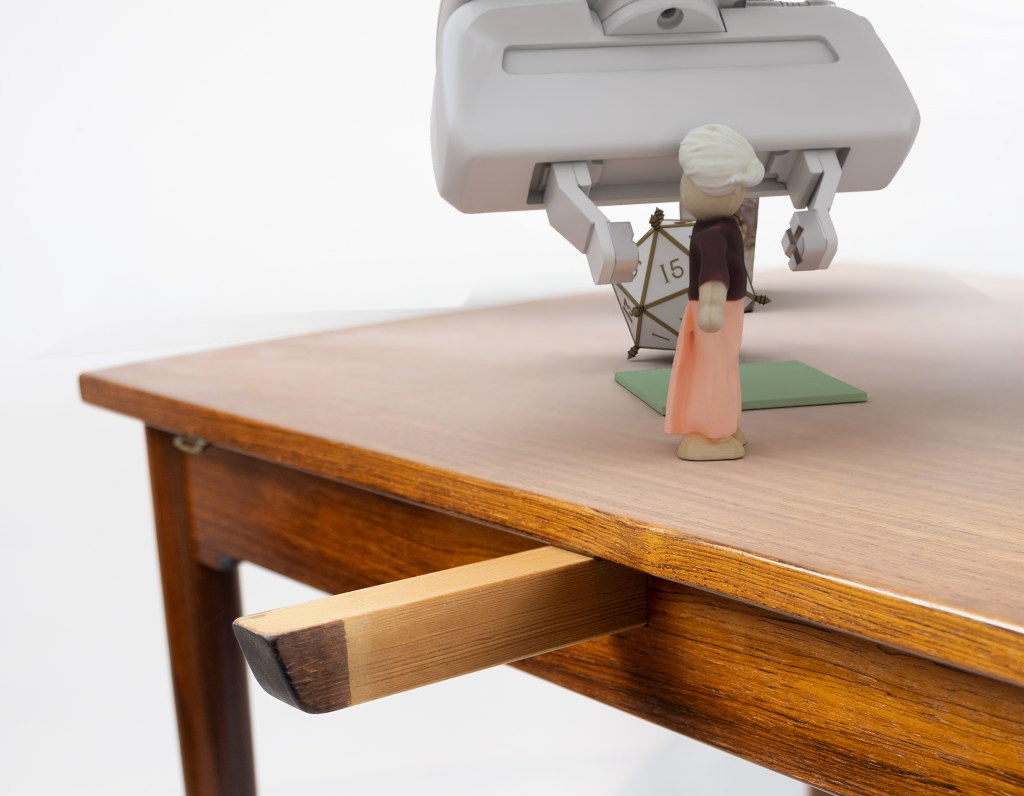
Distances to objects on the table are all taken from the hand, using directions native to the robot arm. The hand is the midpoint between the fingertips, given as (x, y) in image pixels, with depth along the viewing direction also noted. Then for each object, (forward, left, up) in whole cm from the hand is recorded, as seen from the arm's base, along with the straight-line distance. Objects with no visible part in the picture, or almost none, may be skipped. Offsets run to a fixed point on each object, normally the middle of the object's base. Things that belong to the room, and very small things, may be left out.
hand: (718, 267), depth 59 cm
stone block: (-14, -47, -8) cm, 49 cm away
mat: (-5, -14, -7) cm, 16 cm away
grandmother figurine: (0, -1, -8) cm, 8 cm away
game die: (-5, -24, -8) cm, 25 cm away
